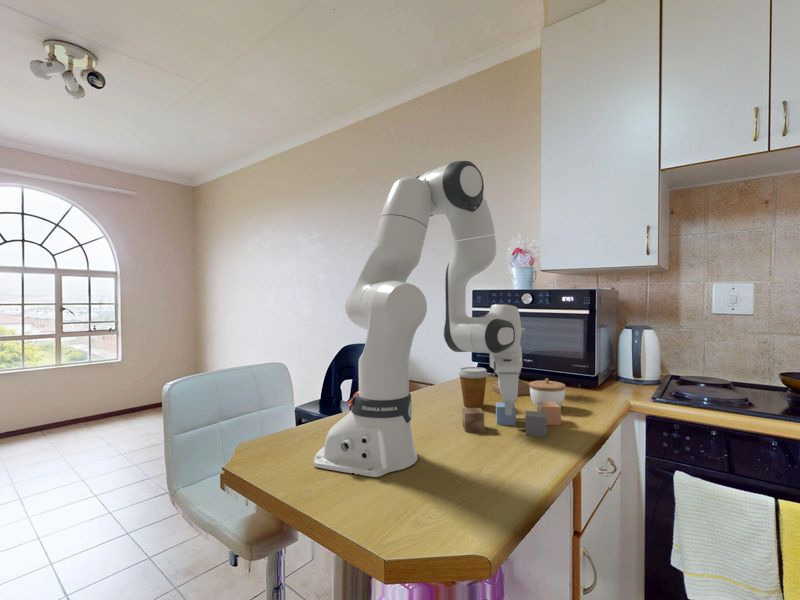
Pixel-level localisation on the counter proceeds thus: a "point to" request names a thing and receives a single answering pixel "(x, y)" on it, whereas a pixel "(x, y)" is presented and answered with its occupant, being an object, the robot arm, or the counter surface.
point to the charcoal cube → (536, 423)
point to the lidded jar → (547, 391)
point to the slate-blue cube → (502, 417)
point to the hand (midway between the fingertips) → (507, 409)
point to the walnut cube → (473, 419)
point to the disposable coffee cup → (473, 386)
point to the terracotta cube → (550, 412)
